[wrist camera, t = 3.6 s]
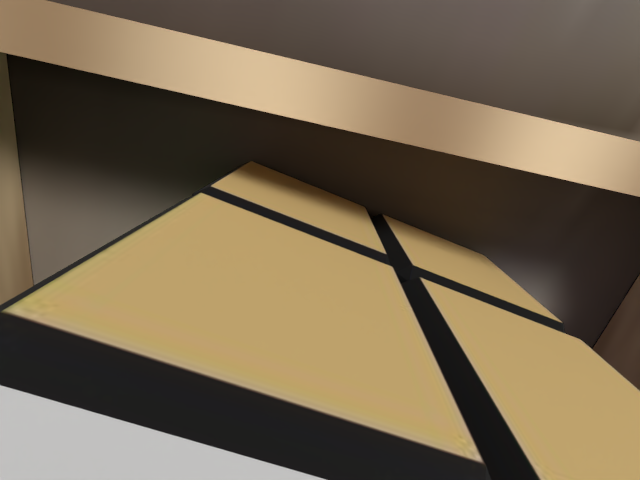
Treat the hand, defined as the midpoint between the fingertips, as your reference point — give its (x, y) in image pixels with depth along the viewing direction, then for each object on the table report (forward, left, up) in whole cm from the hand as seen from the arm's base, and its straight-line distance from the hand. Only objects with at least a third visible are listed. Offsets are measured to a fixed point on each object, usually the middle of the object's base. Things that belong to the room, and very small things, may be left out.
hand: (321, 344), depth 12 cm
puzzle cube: (0, 0, -2) cm, 2 cm away
